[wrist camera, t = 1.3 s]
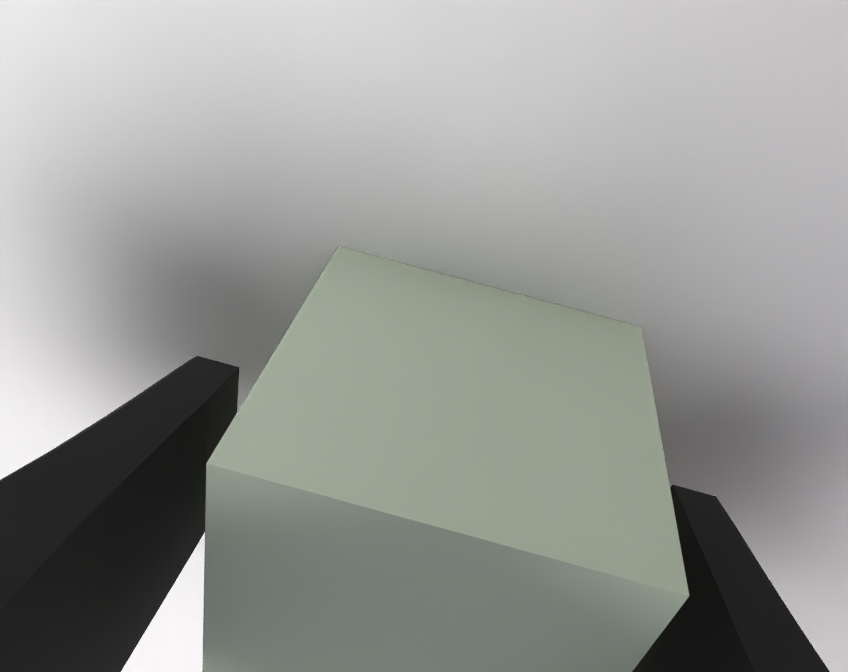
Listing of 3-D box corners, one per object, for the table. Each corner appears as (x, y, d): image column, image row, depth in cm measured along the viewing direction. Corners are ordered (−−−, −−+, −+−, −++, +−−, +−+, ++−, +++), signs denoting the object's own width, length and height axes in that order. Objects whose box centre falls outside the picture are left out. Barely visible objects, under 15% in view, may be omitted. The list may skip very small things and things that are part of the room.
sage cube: (640, 323, 10) (689, 595, 6) (545, 521, 12) (538, 794, 9) (339, 243, 10) (205, 463, 6) (308, 456, 12) (202, 699, 9)
